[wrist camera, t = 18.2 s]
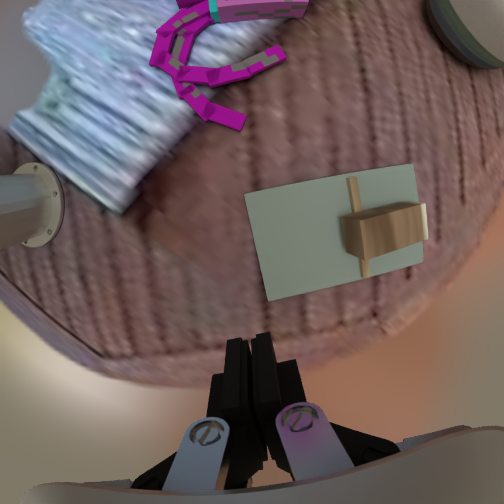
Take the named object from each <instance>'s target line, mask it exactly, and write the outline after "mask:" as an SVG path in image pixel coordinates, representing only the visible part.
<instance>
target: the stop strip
mask: <svg viewBox="0 0 504 504" xmlns="http://www.w3.org/2000/svg"><path fill="white" fill-rule="evenodd" d="M346 180H347V186H348V191H349V197H350V203H351V209H352V213H356V212H360V211H362V205H361V199H360V193H359V187H358V181H357V177H348V178H346ZM358 259H359V268H360V276H361V277H362V278H363V279H364V278H368V277H370V268H369V260H366V261H364V260H362V259H360V258H358Z"/></svg>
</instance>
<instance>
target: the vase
mask: <svg viewBox="0 0 504 504" xmlns="http://www.w3.org/2000/svg"><path fill="white" fill-rule="evenodd" d="M426 12H427V16H428V19H429V21H430V23H431V25H432V27H433V29H434V31H435V33H436V34H437V36H438V37H439V38H440V40H441V41H442V42H443V44H444V45H445V46H446V47H447V48H448V49H449V50H450V51H451V52H452V53H453V54H454V55H455V56H457V57H458V58H459V59H461V60H462V61H464V62H465V63H467V64H469V65H471V66H474V67H477V68H481V69H497V68H502V67H504V0H426Z"/></svg>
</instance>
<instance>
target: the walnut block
mask: <svg viewBox="0 0 504 504" xmlns="http://www.w3.org/2000/svg"><path fill="white" fill-rule="evenodd" d="M340 217H341V223H342V229H343V236H344V242H345V249H346V253H349V254H351V255H353V256H355V257H358V258H360V259H362V260H364V261H366V260H369V259H372V258H375V257H378V256H381V255H384V254H387V253H389V252H392V251H395V250H398V249H401V248H404V247H407V246H410V245H413V244H415V243H418V242H421V241H424V240H427V239H428V227H427V216H426V206H425V203H418V202H410V201H400V202H396V203H392V204H388V205H384V206H380V207H376V208H372V209H368V210H364V211H360V212H356V213H352V214H348V215H344V216H340Z"/></svg>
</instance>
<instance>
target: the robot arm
mask: <svg viewBox="0 0 504 504" xmlns="http://www.w3.org/2000/svg"><path fill="white" fill-rule="evenodd" d="M63 213H64V197H63V192H62V188H61V185H60V182H59V180H58V178H57V176H56V175H55V173H54V172H53V171H52V170H51V169H50V168H49V167H48V166H46V165H44V164H42V163H38V162H30V163H26V164H23V165H22V166H20V167H19V168H18V169H17V170H15V172H14V173H13V174H9V175H0V251H1V250H4V249H6V248H9V247H11V246H14V245H16V244H19V243H22V244H23V245H25V246H28V247H34V248H35V247H40V246H43V245H45V244H47V243H48V242H50V241H51V240H52V239H53V238H54V237H55V235H56V234H57V232H58V230H59V228H60V225H61V223H62V219H63ZM251 349H252V355H251V351H250V347H249V344H248V341H247V340H244V341H242V338H235V339H230V340H227V346H226V356H225V366H224V373H220V374H214V375H213V376H212V381H211V388H210V395H209V402H208V409H207V416H206V418H203V419H200V420H197V421H196V422H194V423H192V424H191V425H190V426H189V427H188V429H187V430H186V432H185V434H184V437H183V439H182V442H181V444H180V447H179V449H178V451H177V452H175V453H174V454H173V455H171V456H169V457H168V458H166V459H165V460H163V461H162V462H160V463H159V464H157V465H156V466H154V467H153V468H151V469H150V470H148V471H146V472H145V473H144V474H142V475H140V476H139V477H138V478H137V479H135V481H134V482H132V481H131V480H130V479H125V480H114V481H102V482H85V483H73V482H53V483H46V484H40V485H37V486H34V487H32V488H31V489H29V490H28V491H27V492H26V493H25V494H24V495H23V496H22V498H21V499H20V501H19V502H18V504H504V427H502V426H482V427H477V428H471V427H469V426H464V425H461V426H455V427H451V428H447V429H444V430H440V431H436V432H432V433H428V434H424V435H419V436H415V437H410V438H405V439H403V442H400V443H393V442H391V441H389V440H386V439H382V438H379V437H375V436H371V435H368V434H365V433H362V432H359V431H355V430H352V429H349V428H346V427H343V426H340V425H337V424H334V423H331V422H329V421H328V419H327V417H326V416H325V414H324V412H323V410H322V409H321V408H320V407H319V406H317V405H315V404H313V403H309V402H307V401H306V397H305V393H304V389H303V386H302V381H301V378H300V374H299V370H298V366H297V362H296V359H293V360H289V361H284V362H280V363H277V361H276V357H275V352H274V348H273V344H272V339H271V335H270V332H265V333H261V334H256V338H254V339H251ZM267 446H268V449H269V452H270V455H271V458H272V460H275V461H276V464H277V467H279V468H280V469H282V470H284V471H286V472H288V473H290V475H291V479H292V481H293V482H288V483H281V484H275V485H269V486H260V487H252V484H253V480H252V475H254V474H255V473H256V472H257V471H258V470H263V461H267V460H268V454H267Z"/></svg>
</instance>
